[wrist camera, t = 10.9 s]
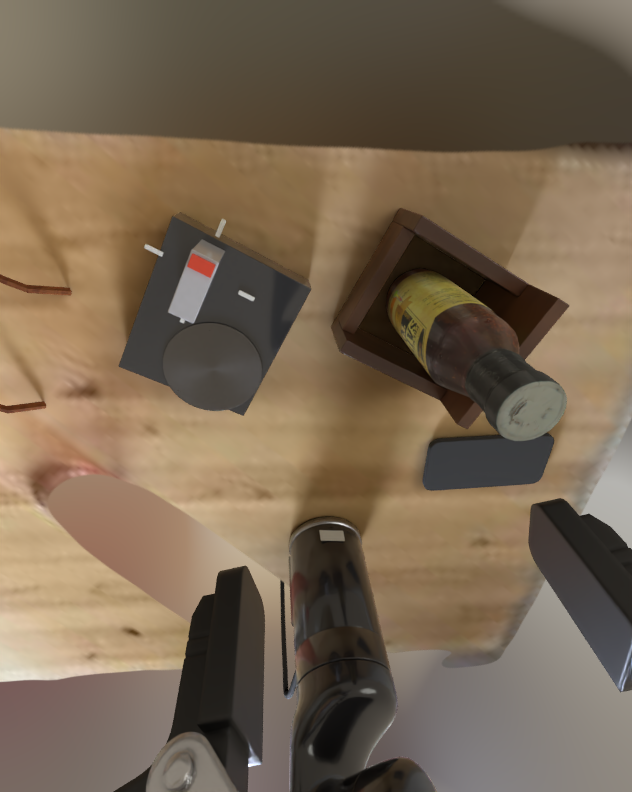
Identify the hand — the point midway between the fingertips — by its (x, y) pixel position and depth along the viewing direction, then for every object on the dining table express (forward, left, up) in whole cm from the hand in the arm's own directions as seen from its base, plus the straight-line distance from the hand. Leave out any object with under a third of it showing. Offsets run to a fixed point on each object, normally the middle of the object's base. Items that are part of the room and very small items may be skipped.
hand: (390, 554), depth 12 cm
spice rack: (+3, -10, -30) cm, 32 cm away
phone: (-9, -29, -30) cm, 43 cm away
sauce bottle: (+3, -10, -30) cm, 32 cm away
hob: (-7, +6, -30) cm, 31 cm away
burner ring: (-10, +5, -27) cm, 29 cm away
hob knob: (-3, +9, -27) cm, 28 cm away
